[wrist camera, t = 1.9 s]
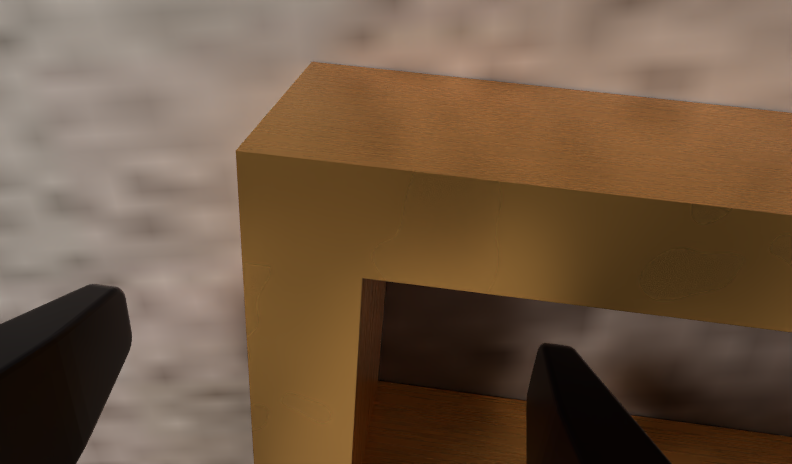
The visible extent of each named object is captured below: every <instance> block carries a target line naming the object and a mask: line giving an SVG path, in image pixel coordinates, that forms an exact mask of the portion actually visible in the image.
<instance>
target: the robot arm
mask: <svg viewBox="0 0 792 464" xmlns="http://www.w3.org/2000/svg"><path fill="white" fill-rule="evenodd" d="M131 342H132V332H131V326H130V320H129V315H128V309H127V303H126V298H125V294H124V292H123V291H122V290H121V289H120V288H118V287H114V286H106V285H99V284H90V285H87V286H85V287H82V288H80V289H78V290H76V291H73V292H71V293H69V294H67V295H65V296H62V297H60V298H58V299H56V300H53V301H51V302H49V303H47V304H44V305H42V306H40V307H38V308H35V309H33V310H31V311H29V312H27V313H24V314H22V315H20V316H18V317H15V318H13V319H11V320H9V321H6V322H4V323H2V324H0V464H76V463H77V461H78V459H79V458H80V456H81V454H82V452H83V450H84V449H85V447H86V445H87V442H88V440H89V438H90V436H91V434H92V432H93V430H94V428H95V426H96V424H97V421H98V419H99V417H100V415H101V412H102V410H103V408H104V406H105V404H106V401H107V399H108V397H109V395H110V393H111V390H112V388H113V386H114V384H115V382H116V379H117V377H118V375H119V373H120V371H121V368H122V366H123V364H124V362H125V360H126V357H127V355H128V353H129V350H130V347H131ZM526 464H672V463H671V462H670V461H669V460H668V459H667V457H666V456H665V455H664V454H663V453H662V451H661V450H660V449H659V448H658V447H657V446H656V444H655V443H654V442H653V441H652V440H651V439H650V437H649V436H648V435H647V434H646V433H645V431H644V430H643V429H642V428H641V427H640V426H639V424H638V423H637V422H636V421H635V420H634V419H633V417H632V416H631V415H630V414H629V413H628V411H627V410H626V409H625V408H624V407H623V406H622V404H621V403H620V402H619V401H618V400H617V399H616V397H615V396H614V395H613V394H612V393H611V392H610V390H609V389H608V388H607V387H606V386H605V384H604V383H603V382H602V381H601V380H600V379H599V377H598V376H597V375H596V374H595V373H594V372H593V370H592V369H591V368H590V367H589V366H588V364H587V363H586V362H585V361H584V360H583V359H582V357H581V356H580V355H579V354H578V353H577V352H576V350H575V349H573V348H572V347H570V346H564V345H557V344H549V343H544V344H542V345H540V347H539V349H538V351H537V355H536V359H535V363H534V367H533V371H532V375H531V379H530V383H529V387H528V393H527V403H526Z"/></svg>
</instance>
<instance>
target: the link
mask: <svg viewBox="0 0 792 464" xmlns="http://www.w3.org/2000/svg"><path fill="white" fill-rule="evenodd" d="M236 162H237V179H238V196H239V213H240V230H241V247H242V265H243V282H244V299H245V316H246V333H247V350H248V367H249V385H250V402H251V419H252V436H253V453H254V464H526V403H527V401H523V400H515V399H508V398H501V397H493V396H486V395H478V394H471V393H464V392H456V391H449V390H442V389H434V388H427V387H420V386H412V385H405V384H398V383H390V382H383V381H378V375H379V363H380V351H381V338H382V326H383V314H384V301H385V289H386V281H390V282H398V283H406V284H413V285H421V286H429V287H437V288H445V289H453V290H461V291H469V292H477V293H485V294H492V295H500V296H508V297H516V298H524V299H532V300H540V301H548V302H556V303H564V304H572V305H579V306H587V307H595V308H603V309H611V310H619V311H627V312H635V313H643V314H651V315H658V316H666V317H674V318H682V319H690V320H698V321H706V322H714V323H722V324H730V325H738V326H745V327H753V328H761V329H769V330H777V331H785V332H792V113H787V112H778V111H768V110H759V109H749V108H740V107H731V106H721V105H712V104H702V103H693V102H684V101H674V100H665V99H656V98H646V97H637V96H627V95H618V94H609V93H599V92H590V91H581V90H571V89H562V88H552V87H543V86H534V85H524V84H515V83H506V82H496V81H487V80H477V79H468V78H459V77H449V76H440V75H431V74H421V73H412V72H402V71H393V70H384V69H374V68H365V67H356V66H346V65H337V64H327V63H318V62H311V63H310V65H309V66H308V67H307V68H306V69H305V70H304V72H303V73H302V74H301V75H300V76H299V78H298V79H297V80H296V81H295V82H294V83H293V85H292V86H291V87H290V88H289V89H288V90H287V92H286V93H285V94H284V95H283V96H282V97H281V99H280V100H279V101H278V102H277V103H276V104H275V106H274V107H273V108H272V109H271V110H270V111H269V113H268V114H267V115H266V116H265V117H264V118H263V120H262V121H261V122H260V123H259V124H258V125H257V127H256V128H255V129H254V130H253V131H252V132H251V134H250V135H249V136H248V137H247V138H246V139H245V141H244V142H243V143H242V144H241V145H240V146H239V148H238V149H237V150H236ZM631 416H632V417H633V419H634V420H635V421H636V422H637V423H638V424H639V426H640V427H641V428H642V429H643V430H644V431H645V433H646V434H647V435H648V436H649V437H650V439H651V440H652V441H653V442H654V443H655V444H656V446H657V447H658V448H659V449H660V450H661V451H662V453H663V454H664V455H665V456H666V457H667V459H668V460H669V461H670V462H671V463H672V464H792V437H787V436H780V435H773V434H765V433H758V432H751V431H743V430H736V429H729V428H721V427H714V426H706V425H699V424H692V423H684V422H677V421H670V420H662V419H655V418H648V417H640V416H633V415H631Z"/></svg>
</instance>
